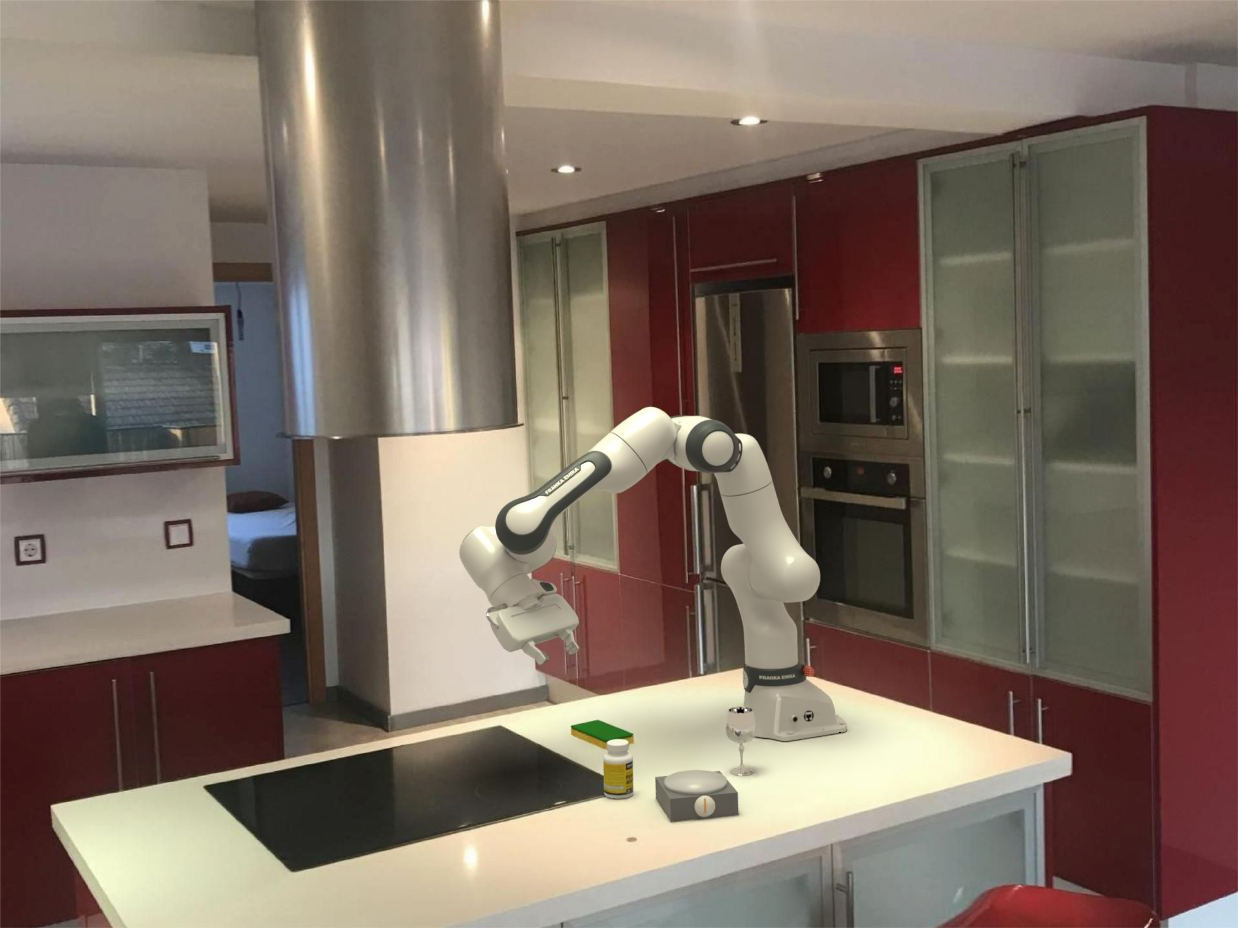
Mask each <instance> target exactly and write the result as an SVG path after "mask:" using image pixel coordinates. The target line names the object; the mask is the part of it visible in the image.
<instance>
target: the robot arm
mask: <svg viewBox="0 0 1238 928" xmlns="http://www.w3.org/2000/svg"><path fill="white" fill-rule="evenodd" d="M663 461H665V462H667V463H669V464H670V465H673V466H677V467H679V468H681V469H684V470H687V471H691V472H701V473H703V474H714V477H715V478H716V482H717V485H718V490H719V494H720V497H721V501H722V504H723V508H724V512H725V515H726V519H727V523H728V526H729V528H730V530H731V531H732V532H733V534H734V535H735V536H736V537H737V538H739V539H740V541H741V542H742V543H741V544H736V545H733V546H731V547H729V548H728V549H727V550H726V552H725V553H724V554H723V557H722V559H721V562H720V563H721V564H720V572H721V573H720V574H721V577H722V579H723V581H724V582H725V583H726V584H727V586H728V587H729V588H730V591H731V592H732V594H733V596H734V598H735V601H736V604H737V608H738V610H739V614H740V617H741V622H742V627H743V640H744V662H743V664H742V666H743V667H742V669H743V670H742V684H743V685H742V687H743V689H744V690H743V691H744V699H743V706H742V707H748V708H751V709H753V713H754V716H755V721H756V734H755V736H754V737H757V738H766V739H772V740H776V741H781V742H789V741H790V742H791V741H796V740H802V739H809V738H814V737H815V738H816V737H820V736H827V735H828V736H829V735H833V734H840V733H839V732H841V733H845V732H846V731H847V730H848V726H847V723H846V721H845V719H844V718H843V717H841V716H839V715H837V713H836V709H835V705H834V703H833V700H832V698H831V697H830V696H829V695H828V694H827V693H826V692H825V691H823V689H821V688H820V687H818V686H817V685H816V684H815V683H813V682H811V681H810V680H809V679H807V678H811V677H813V676H814V675H815V669H814V668H813V667H812V666H810V665H806V664H804V663H802V662H801V661H799V657H798V655H799V654H798V653H799V652H798V627H797V625H796V623H795V621H794V620H793V618H792V617H791V616H790V615H789V613H788V611H787V608H786V606H785V604H784V603H787V604H788V603H798V602H799V603H800V602H805V601H808V600H810V599H811V598H812V597H813V596H814V595H815V594H816V592H817V591H818V589H819V586H820V582H821V572H820V568H819V565H818V563H817V562H816V560H815V559H813V557H811V555H809V554H808V553H807V552H806V551H805V550H804V548H803V547H802V546H801V545H800V543H799V542H798V540H797V539H796V537H795V535H794V534H793V532H792V530H791V529H790V527H789V525H788V523H787V521H786V520H785V517H784V515H783V512H782V509H781V507H780V503H779V498H778V496H777V493H776V488H775V485H774V481H773V478H772V475H771V471H770V467H769V465H768V462H767V460H766V457H765V455H764V452H763V450H762V448H761V446H760V444H759V442H758V441H757V440H756V438H755V437H753V436H752V435H750V434H747V433H734V432H733V430H732V429H731V428H730V427H729V426H727V425H726V424H725V423H724V422H722V421H719V420H717V419H711V418H710V417H709V418H708V417H706V416H702V415H687V414H680V415H679V414H678V415H674V416H669V415H668V414H667V412H665V411H663V410H662V409H660V408H657V407H655V406H654V407H653V406H647V407H644V408H641V410H639V411H636V412H635V413H633V414H631V416H629V417H627V418H626V419H625V420H623V421H621V423H619V424H618V425H616V426H615V427H614V428H613V429H612V430H610V432H609V433H607V434H606V435H605V436H604V437H603V438H601V440H600V441H598V442H597V443H596V444H595V445H594V446H592V447H591V448H590V449H589V450H588V451H587V452H586V453H584V454H583V455H581V456H580V457H579V458H577V459H576V460H574V461H573V462H572V463H570V464H569V465H568V466H566V467H565V468H563V469H562V470H561V471H560V472H558V473H557V474H556V475H555V476H553V477H552V478H551V479H549V480H548V481H547V482H545V483H544V484H543V485H542V486H540V487H539V488H538V489H536V490H535V491H533V492H532V493H528V494H526V495H524V496H521V497H519V498H516V499H513V500H512V501H510V502H508V503H507V504H505V505H504V506H503V507H502V508H501V509H500V511H499V512H498V514H497V516H496V519H495V525H492V526H485V525H480V526H477V527H475V528H473V530H471V531H469V532H468V534H467V535H465V537H464V539H463V540H462V542H461V544H460V547H459V552H458V553H459V558H460V561H461V563H462V565H463V567H464V568H465V570H466V572H467V574H468V575H469V577H470V578H471V579H472V581H473V582H474V584H475V585H476V586H477V587H478V588H479V589H481V591H483V592H484V594H485V596H486V598H487V600H488V602H489V604H490V605H491V607H489V608H487V610H486V612H485V614H486V616H485V617H486V619H487V621H488V622H489V623H490V628H491V630H492V633H493V634H494V636H495V637H496V639H497V641H498V642H499V644H500V646H501V647H502V649H504V650H505V651H507V652H509V653H513V652H516V651H519V650H521V651H523V652H524V654H526V656H529V657H531V658H532V659H534V660H535V662H536V663H537V665H539V666H540V665H544V664H547V662H548V661H549V660H550V657H549V655H547V653H546V652H545V650H540V649H539V647H537V646H535V645H537V644H541V643H544V642H548V641H551V640H553V639H554V640H555V639H557V638H560V639H561V640H562V641H564V643H565V645H566V646H565V648H564V650H566V652H567V653H568V654H569V656H570V655H575V654H576V653H577V652H578V651H579V650H580V647H579V645H578V644H577V642H576V640H575V635H574V632H573V631H574V630H575V629H576V628H577V627H578V626H579V623H580V622H579V616H578V615H577V613H576V612H575V610H574V609H573V608H572V607H571V606H570V604H569V603H568V601H567V600H566V599H565V598H564V596H561V594H559V593H556V592H558V588H557V587H556V585H555V584H554V583H553V582H549V581H542V580H538V579H535V578H530V577H529V576H528V574H531V573H533V572H535V571H537V570H539V569H540V568H543V567H544V566H545V565H547V564H548V563H550V561H552V559H553V558H554V556H555V554H556V552H557V551H556V550H557V538H556V537H555V534H554V533H555V532H554V531H553V530H554V529H553V528H552V527H553V525H554V523H555V522H556V520H557V518H558V517H559V516H561V515H562V514H563V513H564V512H566V511H567V510H568V509H569V508H571V507H572V506H573V505H574V504H576V503H577V502H578V501H580V500H581V499H582V498H583V497H585V496H586V495H588V494H590V493H592V492H594V491H603V492H605V493H608V494H609V493H610V494H620V493H623V492H624V491H627V490H628V489H630V488H631V487H633V486H634V485H636V484H637V483H638V482H640V481H641V480H642V479H643V478H644V477H645V476H647V474H648V473H650V471H651V470H653V469H654V468H655V467H656V465H657V464H660V463H661V462H663Z"/></svg>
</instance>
